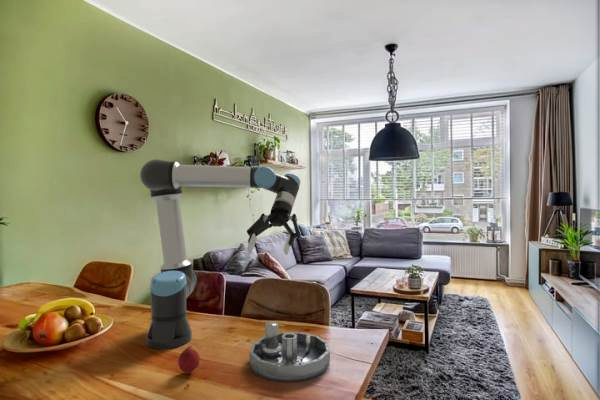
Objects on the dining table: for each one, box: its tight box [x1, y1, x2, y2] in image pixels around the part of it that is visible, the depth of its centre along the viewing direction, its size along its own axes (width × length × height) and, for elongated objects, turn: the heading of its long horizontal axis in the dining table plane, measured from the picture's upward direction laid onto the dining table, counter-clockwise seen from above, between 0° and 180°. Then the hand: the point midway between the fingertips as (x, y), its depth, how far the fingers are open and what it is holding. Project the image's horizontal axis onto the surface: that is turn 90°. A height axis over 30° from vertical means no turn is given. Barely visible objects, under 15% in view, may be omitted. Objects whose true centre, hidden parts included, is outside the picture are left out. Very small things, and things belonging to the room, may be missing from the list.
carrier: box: [249, 321, 331, 383], centre depth 109 cm, size 24×24×10 cm
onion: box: [177, 344, 200, 374], centre depth 103 cm, size 6×6×8 cm
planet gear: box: [277, 333, 303, 364], centre depth 103 cm, size 8×8×9 cm
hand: (266, 251), depth 123 cm, fingers open, 13 cm apart
